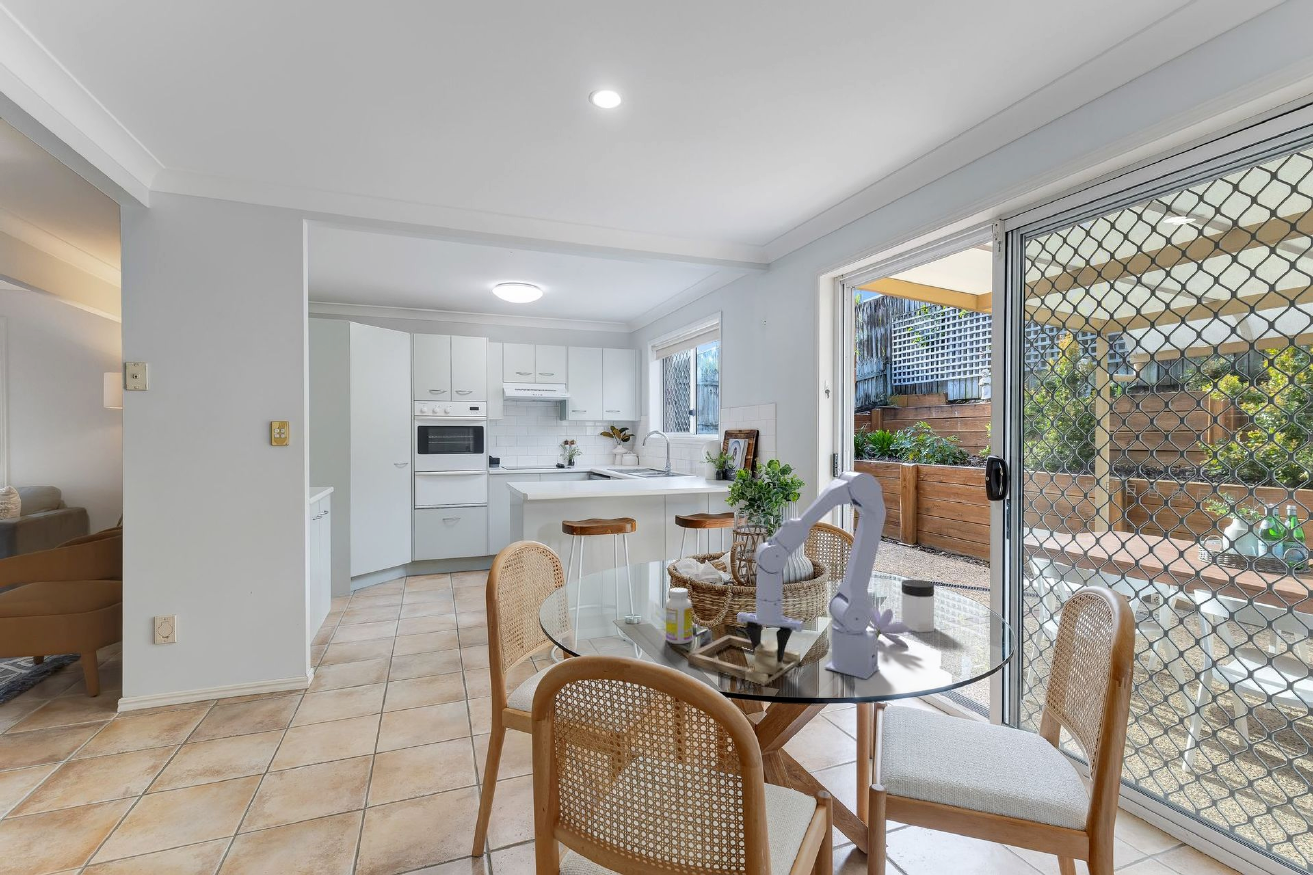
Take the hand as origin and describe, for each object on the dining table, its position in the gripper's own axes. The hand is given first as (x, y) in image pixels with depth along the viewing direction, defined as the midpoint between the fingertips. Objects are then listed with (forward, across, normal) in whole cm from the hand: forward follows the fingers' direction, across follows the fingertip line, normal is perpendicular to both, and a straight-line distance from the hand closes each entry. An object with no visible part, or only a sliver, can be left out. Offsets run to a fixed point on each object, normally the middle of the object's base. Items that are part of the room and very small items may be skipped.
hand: (768, 658), depth 134 cm
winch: (+2, +19, -6) cm, 20 cm away
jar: (+3, -27, -46) cm, 54 cm away
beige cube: (+2, 0, 0) cm, 2 cm away
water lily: (+3, -21, -28) cm, 36 cm away
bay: (+2, +6, -1) cm, 6 cm away
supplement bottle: (+3, +26, -7) cm, 27 cm away
